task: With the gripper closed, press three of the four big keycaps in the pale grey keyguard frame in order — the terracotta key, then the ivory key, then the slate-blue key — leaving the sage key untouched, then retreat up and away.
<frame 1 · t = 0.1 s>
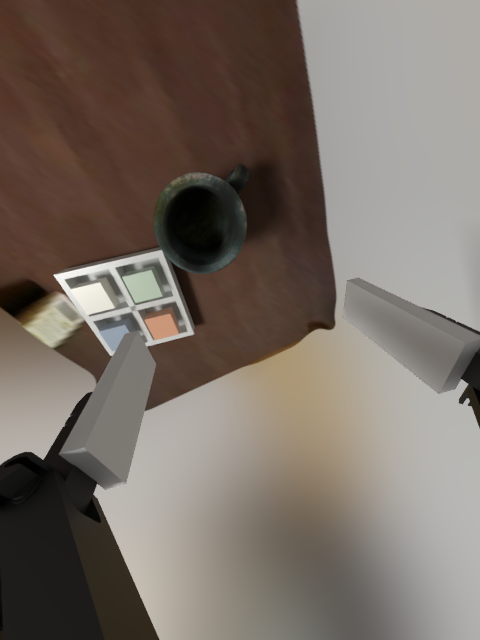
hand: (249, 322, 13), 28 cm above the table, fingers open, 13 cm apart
key slate: (121, 333, 38), point 4 cm above the table, slide at 0.0 cm
key ivory: (97, 295, 33), point 4 cm above the table, slide at 0.0 cm
key sage: (145, 283, 34), point 4 cm above the table, slide at 0.0 cm
key terracotta: (163, 323, 38), point 4 cm above the table, slide at 0.0 cm
keyguard frame: (138, 300, 39), on the table
mug: (207, 212, 34), on the table
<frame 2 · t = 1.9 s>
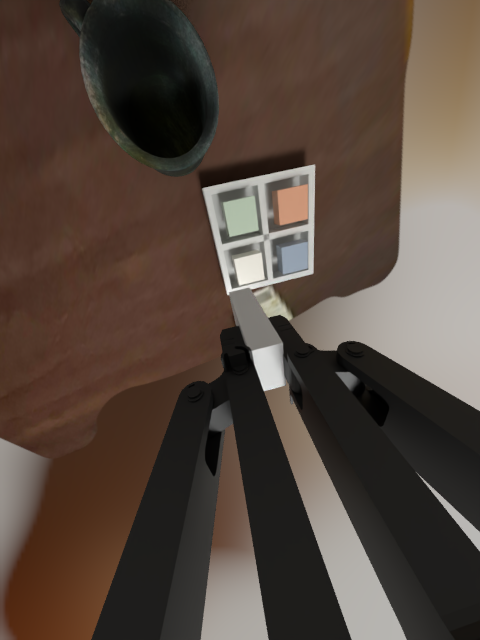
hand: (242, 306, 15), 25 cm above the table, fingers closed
key slate: (291, 256, 36), point 4 cm above the table, slide at 0.0 cm
key ivory: (247, 267, 35), point 4 cm above the table, slide at 0.0 cm
key sage: (239, 216, 31), point 4 cm above the table, slide at 0.0 cm
key terracotta: (289, 205, 31), point 4 cm above the table, slide at 0.0 cm
keyguard frame: (260, 234, 37), on the table
mug: (158, 119, 27), on the table
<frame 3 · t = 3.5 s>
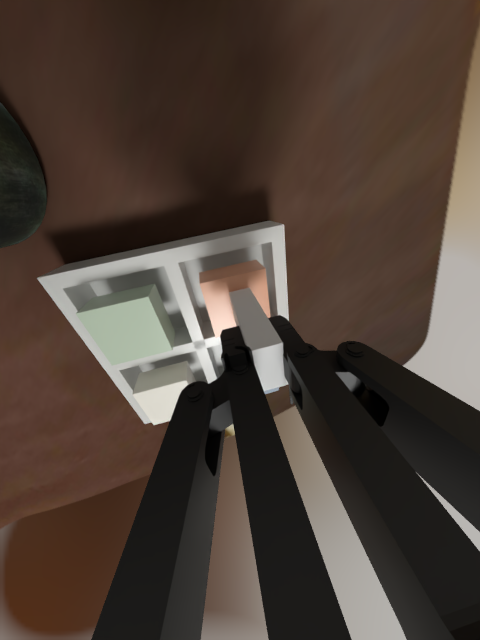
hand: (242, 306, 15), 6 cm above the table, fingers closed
key slate: (250, 369, 20), point 4 cm above the table, slide at 0.0 cm
key ivory: (170, 390, 20), point 4 cm above the table, slide at 0.0 cm
key sage: (134, 322, 15), point 4 cm above the table, slide at 0.0 cm
key terracotta: (235, 297, 16), point 4 cm above the table, slide at 0.2 cm, touching gripper
keyguard frame: (199, 325, 21), on the table
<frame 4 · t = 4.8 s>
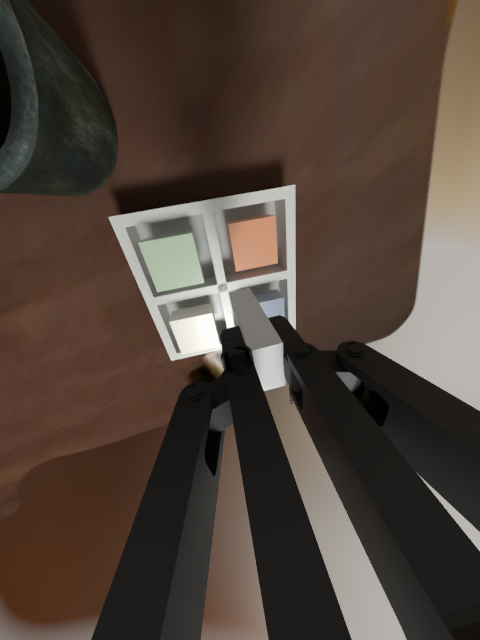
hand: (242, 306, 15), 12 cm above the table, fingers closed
key slate: (261, 313, 24), point 4 cm above the table, slide at 0.0 cm
key ivory: (196, 327, 24), point 4 cm above the table, slide at 0.0 cm
key sage: (175, 260, 20), point 4 cm above the table, slide at 0.0 cm
key terracotta: (251, 242, 22), point 2 cm above the table, slide at 1.5 cm
keyguard frame: (220, 278, 25), on the table
mug: (28, 103, 16), on the table
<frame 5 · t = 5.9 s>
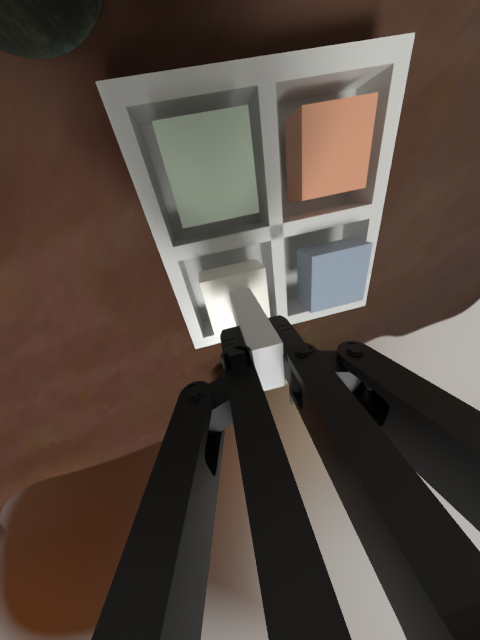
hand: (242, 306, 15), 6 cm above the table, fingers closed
key slate: (328, 274, 17), point 4 cm above the table, slide at 0.0 cm
key ivory: (234, 296, 16), point 4 cm above the table, slide at 0.0 cm, touching gripper
key sage: (210, 175, 12), point 4 cm above the table, slide at 0.0 cm
key terracotta: (323, 155, 14), point 2 cm above the table, slide at 1.5 cm
keyguard frame: (263, 227, 18), on the table
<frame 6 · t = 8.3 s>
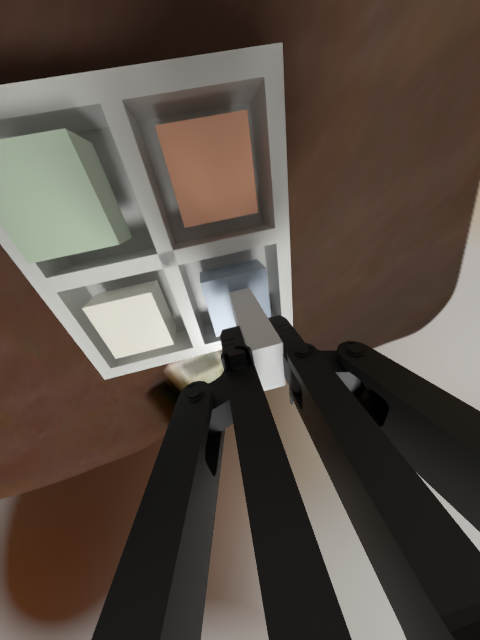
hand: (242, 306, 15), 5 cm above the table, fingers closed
key slate: (235, 296, 16), point 3 cm above the table, slide at 1.0 cm, touching gripper
key ivory: (137, 317, 16), point 2 cm above the table, slide at 1.5 cm
key sage: (63, 203, 11), point 4 cm above the table, slide at 0.0 cm
key terracotta: (211, 177, 12), point 2 cm above the table, slide at 1.5 cm
keyguard frame: (172, 249, 16), on the table
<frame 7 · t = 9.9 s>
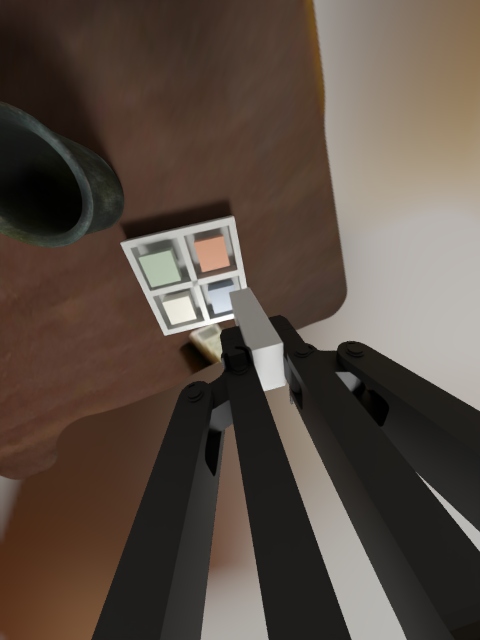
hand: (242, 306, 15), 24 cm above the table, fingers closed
key slate: (223, 296, 37), point 2 cm above the table, slide at 1.5 cm
key ivory: (180, 307, 37), point 2 cm above the table, slide at 1.5 cm
key sage: (162, 266, 31), point 4 cm above the table, slide at 0.0 cm
key terracotta: (212, 252, 33), point 2 cm above the table, slide at 1.5 cm
keyguard frame: (195, 276, 37), on the table
mug: (72, 180, 28), on the table
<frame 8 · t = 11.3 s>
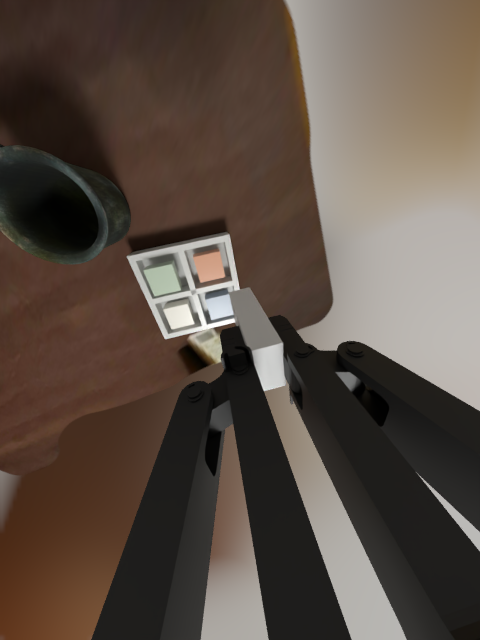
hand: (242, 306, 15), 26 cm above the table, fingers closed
key slate: (219, 303, 41), point 2 cm above the table, slide at 1.5 cm
key ivory: (179, 313, 40), point 2 cm above the table, slide at 1.5 cm
key sage: (164, 277, 35), point 4 cm above the table, slide at 0.0 cm
key terracotta: (209, 265, 37), point 2 cm above the table, slide at 1.5 cm
keyguard frame: (194, 285, 40), on the table
mug: (85, 200, 31), on the table
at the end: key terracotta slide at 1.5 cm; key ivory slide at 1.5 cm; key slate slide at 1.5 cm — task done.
